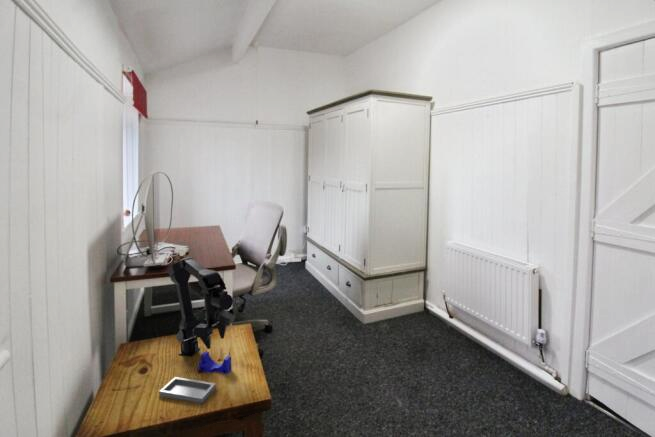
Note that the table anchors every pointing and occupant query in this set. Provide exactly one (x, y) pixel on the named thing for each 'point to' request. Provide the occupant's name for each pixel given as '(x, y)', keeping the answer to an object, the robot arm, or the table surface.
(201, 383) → the tray
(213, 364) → the blue curved cradle
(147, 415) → the table surface
